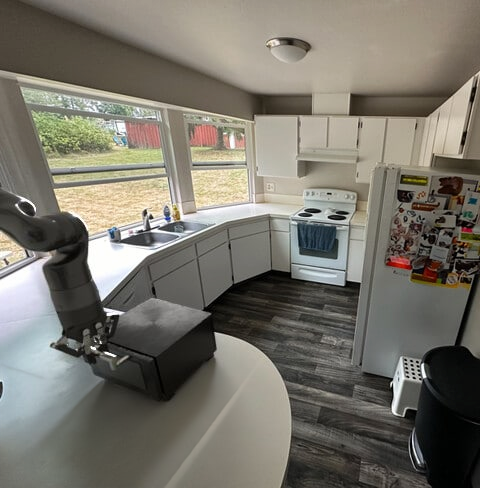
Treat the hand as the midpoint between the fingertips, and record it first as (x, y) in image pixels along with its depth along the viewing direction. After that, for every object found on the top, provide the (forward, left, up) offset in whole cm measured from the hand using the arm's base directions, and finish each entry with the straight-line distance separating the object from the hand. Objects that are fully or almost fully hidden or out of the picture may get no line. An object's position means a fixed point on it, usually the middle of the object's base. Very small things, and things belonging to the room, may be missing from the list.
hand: (98, 359), depth 63 cm
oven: (+5, +14, -17) cm, 22 cm away
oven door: (+1, +2, -13) cm, 14 cm away
